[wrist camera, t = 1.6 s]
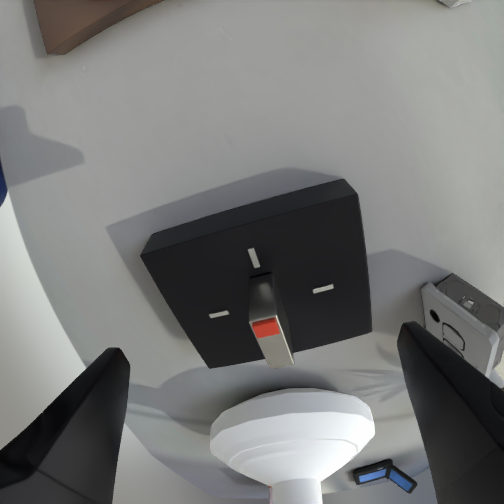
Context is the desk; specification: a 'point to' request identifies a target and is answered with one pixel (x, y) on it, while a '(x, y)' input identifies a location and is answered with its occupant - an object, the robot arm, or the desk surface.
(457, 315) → the electrical switch
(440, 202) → the desk surface
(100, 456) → the robot arm
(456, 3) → the flask
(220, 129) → the desk surface
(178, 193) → the desk surface
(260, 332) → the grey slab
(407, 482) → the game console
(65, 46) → the button block
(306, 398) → the candle holder
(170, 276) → the switch base
